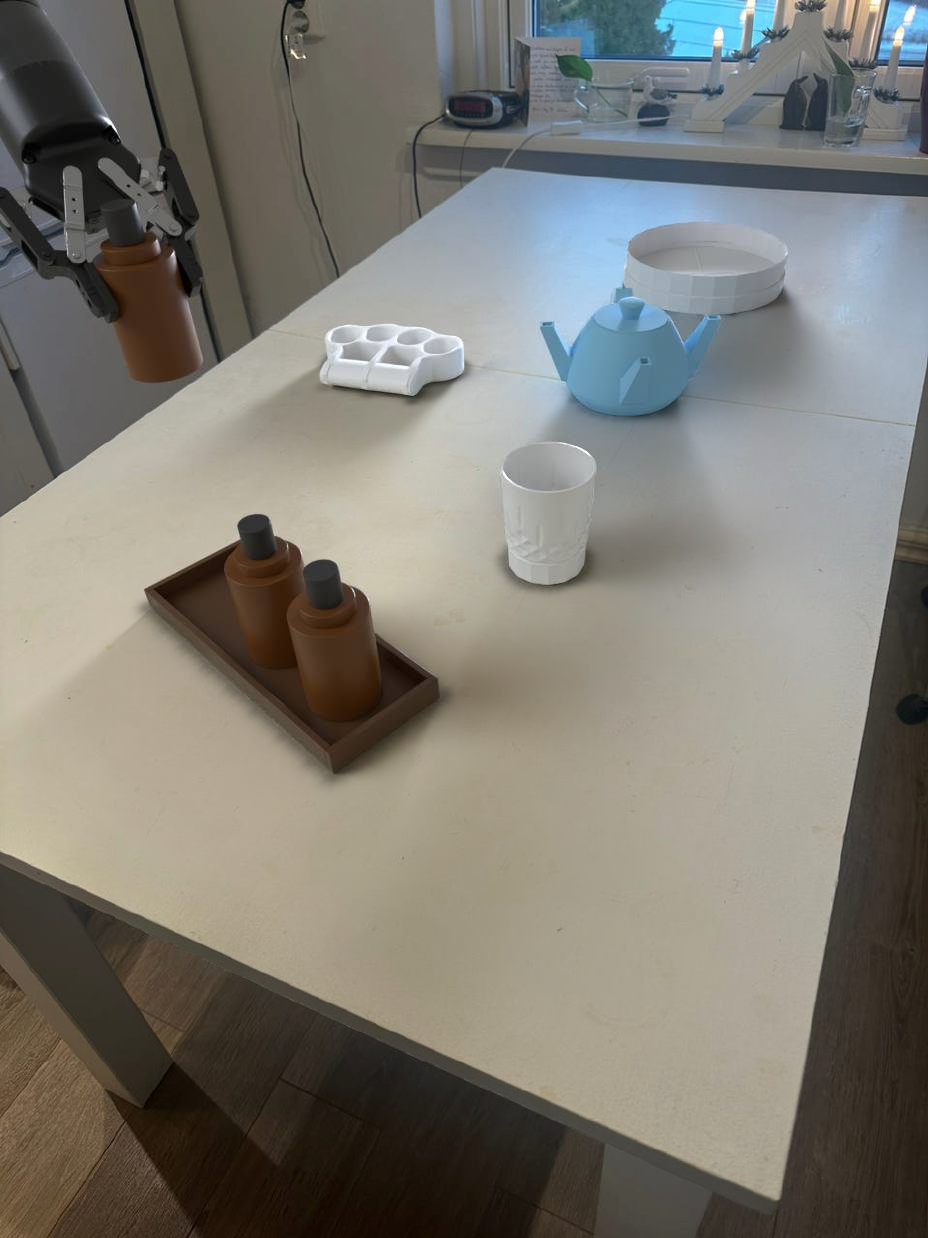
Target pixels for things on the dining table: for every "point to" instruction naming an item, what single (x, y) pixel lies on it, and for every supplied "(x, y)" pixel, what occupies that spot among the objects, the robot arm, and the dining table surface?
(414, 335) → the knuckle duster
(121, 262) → the bottle
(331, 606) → the bottle near
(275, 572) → the bottle mid
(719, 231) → the dish
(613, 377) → the teapot
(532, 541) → the white cup
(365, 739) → the tray
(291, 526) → the dining table surface
